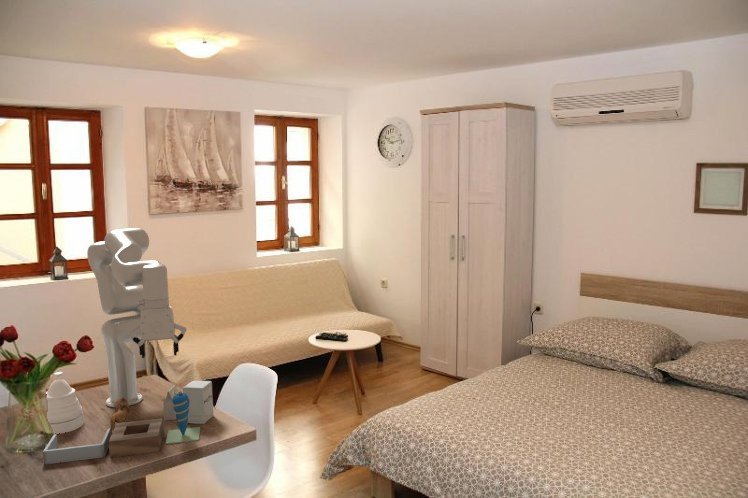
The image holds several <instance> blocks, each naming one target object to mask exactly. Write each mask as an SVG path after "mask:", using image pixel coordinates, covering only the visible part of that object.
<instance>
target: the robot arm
mask: <svg viewBox="0 0 748 498" xmlns="http://www.w3.org/2000/svg"><path fill="white" fill-rule="evenodd" d="M149 247H150V238H149V234H148V233H147V231H145V230H144V229H143V228H140V227H133V228H121V229H114V230H112V231H108V233H107V234H106V235H105V237H104V240H103V241H98V242H94V243H92V244H90V246H88V247H87V253H86V254H87V261H88V264H89V267H90V269H91V271H92V273H93V274H94V276H95V279H96V283H97V287H98V294H99V299H100V305H101V308H102V312H103V313H104V314H105V315H107V316H111V315H112V316H114V315H123V314H127V313H134V315H126V316H121V317H117V318H116V317H115V318H111V319H108V320H107V321H105V322H104V323H102V325H101V329H100V330H101V336H102V340H103V343H104V348H105V354H106V364H107V365H106V367H107V377H108V386H109V388H108V389H109V397H108V398H107V399H105V400H106V401H105V404H106V406H107V407H110V408H115V407H114V404H115V403H116V401H117V400H118V398H125V399H126V400H127V402H128V405H129V407H130V406H133V405H136V404H139V403H140V402H141V401H142V400H143V395H142V394H141V393H139V392H138V384H137V383H138V382H137V369H136V357H135V352H134V351H133V349H132V348H130V347H129V346H128V345H127V344H129V343H131V342H132V343H133V342H134V343H135V344H136V345H138V347H139V348H138V350H139V355H140V356H141V358H142V359H145V357H146V346H145V345H146V344H145V342H146V341H161V340H172V341H173V346H172V347H173V356H177V354H178V353H179V351H180V350H179V342H180V341H181V340H182V339H183V338H184V336H185V334H186V332H187V330H188V329H187V327H186V326H183V325H180V324H178V323H176V322H175V316H174V313H173V308H172V305H170V300H169V283H168V268H167V266H166V265H165V264H162V263H161V262H160V261H159V260H156V259H153V260H152V259H150V260H142V261H141V259H142V257H143V255H144V254H145V253H146V251H147V250H148V249H149ZM141 285H142V287H141ZM176 330H178V331H180V333H179V334H178V335H177V334H176Z"/></svg>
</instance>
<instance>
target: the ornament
mask: <svg viewBox="0 0 748 498" xmlns="http://www.w3.org/2000/svg"><path fill="white" fill-rule="evenodd" d="M178 391H179V394H176V395H175V396H174V397H173V399H172V402H173V404H174V410H175V412H176V420H177V427H178V429H180V431H181V434H182V435H184V434H185V431H186V429H187V428H188V423H187V422H188V413H189V398H188V396H187V394H185V393H183V390H178Z"/></svg>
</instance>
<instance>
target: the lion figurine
mask: <svg viewBox="0 0 748 498" xmlns="http://www.w3.org/2000/svg"><path fill="white" fill-rule="evenodd" d="M113 408H115V410H116V412H115V413H113V414H112V415H111V417H110V422H109V423H110V426H109V427H110V428H111V435H112V433H113V431H114V428H115V425H116V424H117V423H123V421H124V420H125V422H130V420H129V419H130V415H129V413H130V411H131V409H130V406H129V405H128V402H127V400H126V399H125V398H118V400H117V401H116V403H115V404H114V407H113Z"/></svg>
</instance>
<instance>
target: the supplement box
mask: <svg viewBox="0 0 748 498" xmlns="http://www.w3.org/2000/svg"><path fill="white" fill-rule="evenodd" d="M182 393H185V394H187V396H188V398H189V413H188V422H187V424H194V425H195V424H196V425H198V424H199V425H205V424H206V423H207V422H208V421H209V420H210V419H211V418H212V417H214V401H213V400H214V399H213V383H212V381H211V380H192V381H190V382H189V383H188V384H186V385H185V386H183V387H182Z"/></svg>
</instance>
